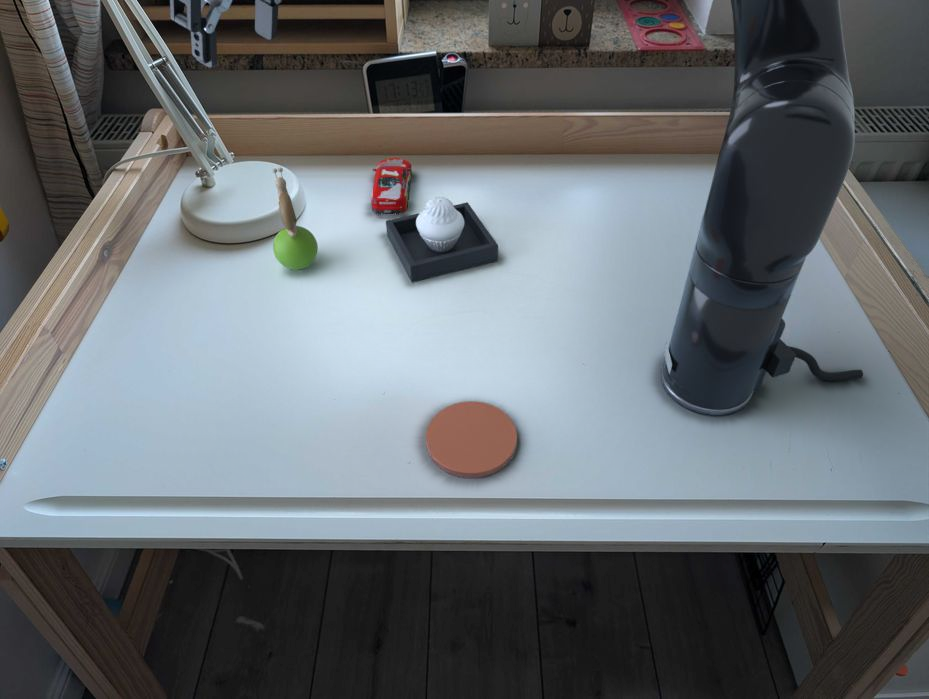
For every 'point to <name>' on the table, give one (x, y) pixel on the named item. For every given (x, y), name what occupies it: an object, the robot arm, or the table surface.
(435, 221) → the muffin
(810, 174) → the robot arm
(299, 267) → the snail figurine
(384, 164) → the race car
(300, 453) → the table surface
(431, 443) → the plate
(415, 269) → the tray
